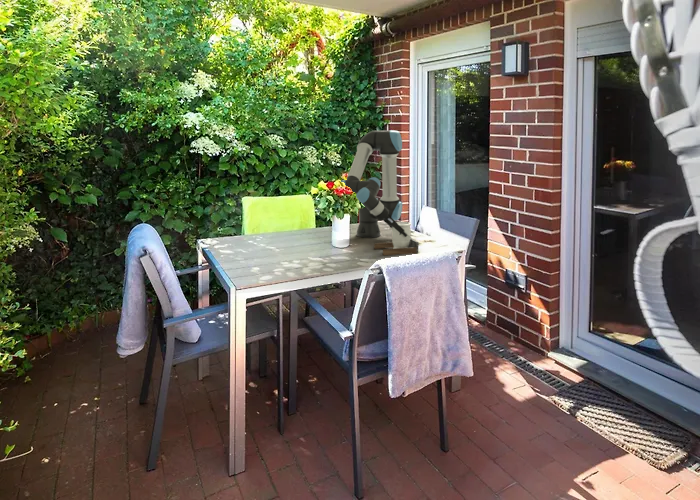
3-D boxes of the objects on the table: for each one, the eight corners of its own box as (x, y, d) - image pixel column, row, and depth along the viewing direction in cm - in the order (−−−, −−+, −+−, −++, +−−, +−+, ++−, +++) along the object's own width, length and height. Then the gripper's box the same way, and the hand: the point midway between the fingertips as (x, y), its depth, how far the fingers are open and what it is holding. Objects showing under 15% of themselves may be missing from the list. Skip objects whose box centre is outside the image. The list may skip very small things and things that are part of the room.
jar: (408, 247, 294) (409, 221, 290) (411, 251, 284) (412, 224, 280) (390, 247, 293) (390, 221, 290) (392, 251, 283) (393, 225, 280)
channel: (374, 248, 293) (374, 238, 292) (407, 246, 298) (407, 236, 297) (383, 255, 278) (383, 244, 276) (418, 252, 283) (418, 242, 281)
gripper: (368, 212, 291) (394, 238, 299) (381, 219, 270) (409, 247, 277) (377, 203, 291) (403, 228, 299) (391, 209, 270) (418, 237, 277)
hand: (406, 237), depth 288 cm, fingers closed on jar, 10 cm apart
